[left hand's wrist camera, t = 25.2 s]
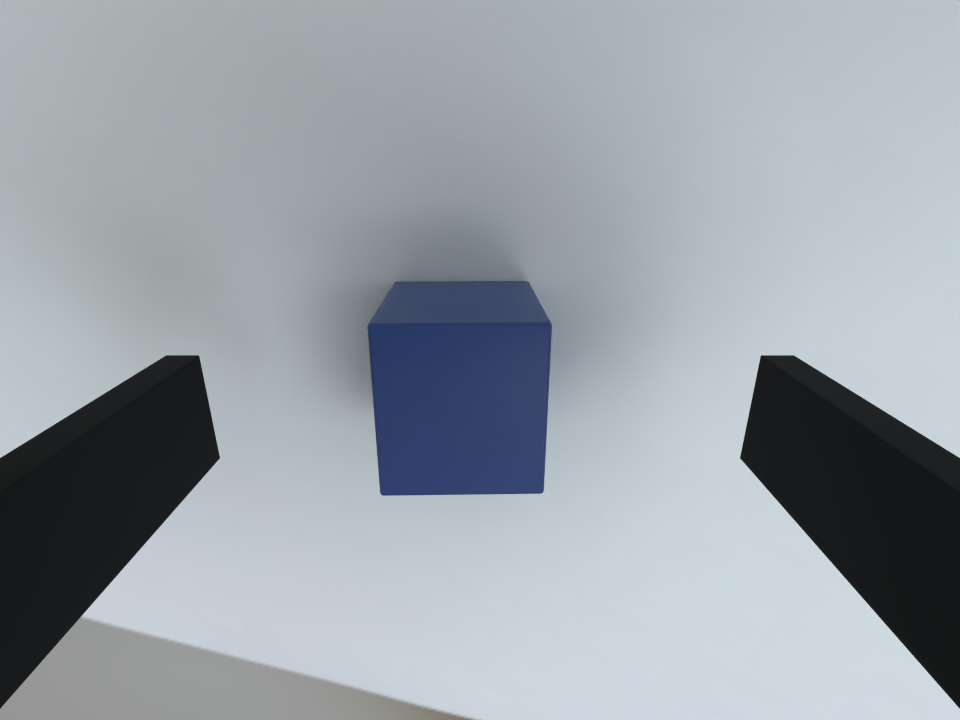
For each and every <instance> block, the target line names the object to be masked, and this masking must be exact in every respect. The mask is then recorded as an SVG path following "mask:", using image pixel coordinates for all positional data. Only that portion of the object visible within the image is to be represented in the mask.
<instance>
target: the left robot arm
mask: <svg viewBox="0 0 960 720" xmlns="http://www.w3.org/2000/svg"><path fill="white" fill-rule="evenodd" d="M219 458H220V457H219V452H218V447H217V442H216V437H215V432H214V427H213V422H212V417H211V412H210V407H209V402H208V397H207V393H206V388H205V383H204V378H203V373H202V368H201V363H200V358H199V356H165V357H163V358H161V359H160V360H158V361H157V362H155V363H153V364H152V365H150V366H149V367H147V368H145V369H144V370H142V371H140V372H139V373H137V374H136V375H134V376H132V377H131V378H129V379H127V380H126V381H124V382H123V383H121V384H119V385H118V386H116V387H115V388H113V389H111V390H110V391H108V392H106V393H105V394H103V395H102V396H100V397H98V398H97V399H95V400H94V401H92V402H90V403H89V404H87V405H85V406H84V407H82V408H81V409H79V410H77V411H76V412H74V413H73V414H71V415H69V416H68V417H66V418H64V419H63V420H61V421H60V422H58V423H56V424H55V425H53V426H52V427H50V428H48V429H47V430H45V431H43V432H42V433H40V434H39V435H37V436H35V437H34V438H32V439H30V440H29V441H27V442H26V443H24V444H22V445H21V446H19V447H18V448H16V449H14V450H13V451H11V452H9V453H8V454H6V455H5V456H3V457H1V458H0V708H1V707H2V706H3V705H4V704H5V702H6V701H7V700H8V699H9V698H10V697H11V696H12V694H13V693H14V692H15V691H16V690H17V689H18V688H19V686H20V685H21V684H22V683H23V682H24V681H25V680H26V679H27V677H28V676H29V675H30V674H31V673H32V672H33V671H34V669H35V668H36V667H37V666H38V665H39V664H40V663H41V661H42V660H43V659H44V658H45V657H46V656H47V655H48V653H49V652H50V651H51V650H52V649H53V648H54V646H55V645H56V644H57V643H58V642H59V641H60V640H61V639H62V637H63V636H64V635H65V634H66V633H67V632H68V631H69V629H70V628H71V627H72V626H73V625H74V624H75V623H76V622H77V620H78V619H79V618H80V617H81V616H82V615H83V614H84V612H85V611H86V610H87V609H88V608H89V607H90V606H91V604H92V603H93V602H94V601H95V600H96V599H97V598H98V596H99V595H100V594H101V593H102V592H103V591H104V590H105V588H106V587H107V586H108V585H109V584H110V583H111V582H112V580H113V579H114V578H115V577H116V576H117V575H118V574H119V572H120V571H121V570H122V569H123V568H124V567H125V566H126V565H127V563H128V562H129V561H130V560H131V559H132V558H133V557H134V555H135V554H136V553H137V552H138V551H139V550H140V549H141V547H142V546H143V545H144V544H145V543H146V542H147V541H148V539H149V538H150V537H151V536H152V535H153V534H154V533H155V531H156V530H157V529H158V528H159V527H160V526H161V525H162V523H163V522H164V521H165V520H166V519H167V518H168V517H169V515H170V514H171V513H172V512H173V511H174V510H175V509H176V507H177V506H178V505H179V504H180V503H181V502H182V501H183V500H184V498H185V497H186V496H187V495H188V494H189V493H190V492H191V490H192V489H193V488H194V487H195V486H196V485H197V484H198V482H199V481H200V480H201V479H202V478H203V477H204V476H205V474H206V473H207V472H208V471H209V470H210V469H211V468H212V466H213V465H214V464H215V463H216V462H217V461H218V460H219ZM740 458H741V460H742V461H743V462H744V463H745V464H746V465H747V466H748V468H749V469H750V470H751V471H752V472H753V473H754V474H755V476H756V477H757V478H758V479H759V480H760V481H761V482H762V484H763V485H764V486H765V487H766V488H767V489H768V490H769V492H770V493H771V494H772V495H773V496H774V497H775V498H776V500H777V501H778V502H779V503H780V504H781V505H782V506H783V507H784V509H785V510H786V511H787V512H788V513H789V514H790V515H791V517H792V518H793V519H794V520H795V521H796V522H797V523H798V525H799V526H800V527H801V528H802V529H803V530H804V531H805V533H806V534H807V535H808V536H809V537H810V538H811V539H812V541H813V542H814V543H815V544H816V545H817V546H818V547H819V549H820V550H821V551H822V552H823V553H824V554H825V555H826V557H827V558H828V559H829V560H830V561H831V562H832V563H833V565H834V566H835V567H836V568H837V569H838V570H839V571H840V572H841V574H842V575H843V576H844V577H845V578H846V579H847V580H848V582H849V583H850V584H851V585H852V586H853V587H854V588H855V590H856V591H857V592H858V593H859V594H860V595H861V596H862V598H863V599H864V600H865V601H866V602H867V603H868V604H869V606H870V607H871V608H872V609H873V610H874V611H875V612H876V614H877V615H878V616H879V617H880V618H881V619H882V620H883V622H884V623H885V624H886V625H887V626H888V627H889V628H890V630H891V631H892V632H893V633H894V634H895V635H896V636H897V637H898V639H899V640H900V641H901V642H902V643H903V644H904V645H905V647H906V648H907V649H908V650H909V651H910V652H911V653H912V655H913V656H914V657H915V658H916V659H917V660H918V661H919V663H920V664H921V665H922V666H923V667H924V668H925V669H926V671H927V672H928V673H929V674H930V675H931V676H932V677H933V679H934V680H935V681H936V682H937V683H938V684H939V685H940V687H941V688H942V689H943V690H944V691H945V692H946V693H947V694H948V696H949V697H950V698H951V699H952V700H953V701H954V702H955V704H956V705H957V706H958V707H959V708H960V458H959V457H957V456H955V455H954V454H952V453H951V452H949V451H947V450H946V449H944V448H942V447H941V446H939V445H938V444H936V443H934V442H933V441H931V440H930V439H928V438H926V437H925V436H923V435H921V434H920V433H918V432H917V431H915V430H913V429H912V428H910V427H908V426H907V425H905V424H904V423H902V422H900V421H899V420H897V419H896V418H894V417H892V416H891V415H889V414H887V413H886V412H884V411H883V410H881V409H879V408H878V407H876V406H875V405H873V404H871V403H870V402H868V401H866V400H865V399H863V398H862V397H860V396H858V395H857V394H855V393H854V392H852V391H850V390H849V389H847V388H845V387H844V386H842V385H841V384H839V383H837V382H836V381H834V380H833V379H831V378H829V377H828V376H826V375H824V374H823V373H821V372H820V371H818V370H816V369H815V368H813V367H811V366H810V365H808V364H807V363H805V362H803V361H802V360H800V359H799V358H797V357H795V356H761V358H760V363H759V368H758V373H757V378H756V383H755V388H754V393H753V397H752V402H751V407H750V412H749V417H748V422H747V427H746V432H745V437H744V442H743V447H742V452H741V457H740Z"/></svg>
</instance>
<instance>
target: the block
mask: <svg viewBox="0 0 960 720" xmlns="http://www.w3.org/2000/svg"><path fill="white" fill-rule="evenodd" d="M551 331H552V325H551V322H550V321H549V319H548V317H547V315H546V313H545V311H544V309H543V308H542V306H541V304H540V302H539V300H538V298H537V296H536V295H535V293H534V291H533V289H532V287H531V285H530V284H529V282H396V283H394V285H393V287H392V288H391V290H390V291H389V293H388V294H387V296H386V298H385V299H384V301H383V302H382V304H381V305H380V307H379V308H378V310H377V312H376V313H375V315H374V316H373V318H372V319H371V321H370V322H369V324H368V338H369V352H370V365H371V378H372V391H373V404H374V417H375V430H376V443H377V457H378V470H379V483H380V493H381V495H461V494H540V493H543V491H544V474H545V454H546V433H547V413H548V392H549V372H550V352H551Z"/></svg>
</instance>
